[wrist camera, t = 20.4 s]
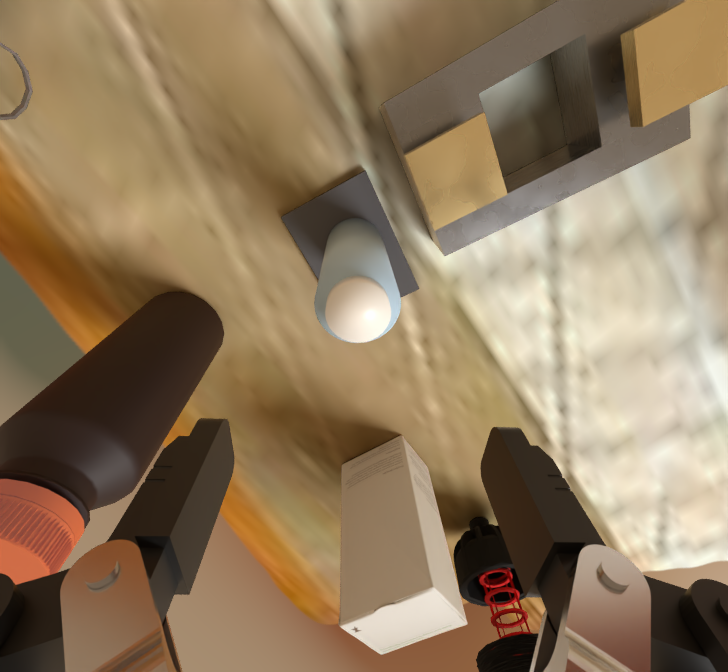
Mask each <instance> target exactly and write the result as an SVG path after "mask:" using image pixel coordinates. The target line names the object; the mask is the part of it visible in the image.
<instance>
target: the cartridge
mask: <svg viewBox="0 0 728 672" xmlns="http://www.w3.org/2000/svg"><path fill="white" fill-rule="evenodd" d="M314 304H315V312H316V315H317V318H318V320H319V322H320V324H321V325H322V326H323V328H324V329H325V330H326V331H327V332H328V333H330V334H331V335H332V336H334V337H336V338H338V339H340V340H343V341H346V342H352V343H363V342H369V341H372V340H375V339H377V338H379V337H381V336H382V335H384V334H385V333H387V332H388V331H389V330H390V329H391V328H392V327H393V325H394V324H395V322H396V320H397V318H398V316H399V313H400V308H401V298H400V293H399V290H398V287H397V283H396V280H395V277H394V274H393V271H392V268H391V264H390V261H389V258H388V255H387V252H386V249H385V245H384V242H383V239H382V236H381V234H380V232H379V230H378V229H377V228H376V227H375V226H374V225H373V224H372V223H370V222H369V221H367V220H364V219H360V218H350V219H346V220H343V221H341V222H340V223H338V224H337V225H336V226H335V227H334V228H333V229H332V230H331V232H330V234H329V236H328V240H327V244H326V249H325V253H324V258H323V263H322V267H321V272H320V277H319V281H318V286H317V290H316V295H315V302H314Z"/></svg>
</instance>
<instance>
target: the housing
mask: <svg viewBox="0 0 728 672" xmlns="http://www.w3.org/2000/svg"><path fill="white" fill-rule="evenodd" d="M681 1H683V0H558V1H556V2H555V3H553V4H551V5H550V6H548V7H546V8H545V9H543V10H541V11H539V12H538V13H536V14H534V15H533V16H531V17H529V18H528V19H526V20H524V21H522V22H521V23H519V24H517V25H516V26H514V27H512V28H511V29H509V30H507V31H505V32H504V33H502V34H500V35H499V36H497V37H495V38H494V39H492V40H490V41H488V42H487V43H485V44H483V45H482V46H480V47H478V48H476V49H475V50H473V51H471V52H470V53H468V54H466V55H465V56H463V57H461V58H459V59H458V60H456V61H454V62H453V63H451V64H449V65H448V66H446V67H444V68H442V69H441V70H439V71H437V72H436V73H434V74H432V75H431V76H429V77H427V78H425V79H424V80H422V81H420V82H419V83H417V84H415V85H414V86H412V87H410V88H408V89H407V90H405V91H403V92H402V93H400V94H398V95H396V96H395V97H393V98H391V99H390V100H388V101H386V102H385V103H383V104H382V105H381V106H380V107H379V110H380V112H381V115H382V117H383V119H384V122H385V124H386V127H387V129H388V132H389V134H390V137H391V139H392V142H393V144H394V147H395V149H396V151H397V154H398V156H399V159H400V161H401V164H402V166H403V169H404V171H405V174H406V176H407V179H408V181H409V183H410V186H411V188H412V191H413V193H414V196H415V198H416V201H417V203H418V206H419V208H420V211H421V213H422V215H423V218H424V220H425V223H426V225H427V228H428V230H429V233H430V235H431V238H432V240H433V242H434V243H435V244H436V246H437V247H438V248H439V250H440V251H441V252H442V253H443V255H444V256H446V255H448V254H451V253H453V252H455V251H457V250H459V249H461V248H463V247H465V246H467V245H469V244H471V243H473V242H476V241H478V240H480V239H482V238H484V237H486V236H488V235H490V234H492V233H494V232H496V231H498V230H500V229H503V228H505V227H507V226H509V225H511V224H513V223H515V222H517V221H519V220H521V219H523V218H525V217H528V216H530V215H532V214H534V213H536V212H538V211H540V210H542V209H544V208H546V207H548V206H550V205H552V204H555V203H557V202H559V201H561V200H563V199H565V198H567V197H569V196H571V195H573V194H575V193H577V192H580V191H582V190H584V189H586V188H588V187H590V186H592V185H594V184H596V183H598V182H600V181H602V180H605V179H607V178H609V177H611V176H613V175H615V174H617V173H619V172H621V171H623V170H625V169H627V168H629V167H632V166H634V165H636V164H638V163H640V162H642V161H644V160H646V159H648V158H650V157H652V156H654V155H657V154H659V153H661V152H663V151H665V150H667V149H669V148H671V147H673V146H675V145H677V144H679V143H681V142H684V141H686V140H688V139H690V112H689V104H688V105H686V106H684V107H682V108H680V109H678V110H676V111H674V112H672V113H670V114H668V115H666V116H664V117H662V118H660V119H658V120H656V121H654V122H652V123H650V124H648V125H646V126H644V127H630V118H629V109H628V100H627V91H626V85H625V76H624V67H623V58H622V46H621V37H620V35H621V34H623V33H625V32H626V31H628V30H630V29H632V28H634V27H636V26H637V25H639V24H641V23H643V22H645V21H646V20H648V19H650V18H652V17H654V16H656V15H657V14H659V13H661V12H663V11H665V10H666V9H668V8H670V7H672V6H674V5H675V4H677V3H679V2H681ZM548 54H550V57H551V62H552V68H553V73H554V78H555V83H556V89H557V94H558V99H559V104H560V109H561V115H562V120H563V125H564V130H565V136H566V141H567V145H566V146H564V147H562V148H560V149H558V150H556V151H555V152H553V153H551V154H549V155H547V156H545V157H543V158H541V159H539V160H537V161H535V162H533V163H531V164H529V165H527V166H525V167H523V168H521V169H519V170H517V171H515V172H513V173H511V174H509V175H507V176H505V177H503V180H504V183H505V187H506V190H507V194H508V195H506V196H504V197H502V198H500V199H498V200H496V201H494V202H492V203H490V204H488V205H486V206H484V207H482V208H479V209H477V210H475V211H473V212H471V213H469V214H467V215H465V216H463V217H461V218H459V219H457V220H455V221H453V222H451V223H449V224H447V225H445V226H443V227H441V228H439V229H437V230H434V229H433V228H432V227H431V224H430V222H429V219H428V217H427V214H426V212H425V209H424V207H423V204H422V202H421V199H420V197H419V194H418V192H417V189H416V187H415V184H414V182H413V179H412V177H411V174H410V172H409V169H408V167H407V164H406V162H405V159H404V157H403V154H405V153H407V152H409V151H411V150H412V149H414V148H416V147H418V146H420V145H421V144H423V143H425V142H427V141H429V140H431V139H432V138H434V137H436V136H438V135H440V134H441V133H443V132H445V131H447V130H449V129H450V128H452V127H454V126H456V125H458V124H460V123H461V122H463V121H465V120H467V119H469V118H470V117H472V116H474V115H476V114H478V113H482V112H483V108H482V105H481V101H480V98H479V93H480V92H482V91H484V90H486V89H488V88H489V87H491V86H493V85H495V84H496V83H498V82H500V81H502V80H504V79H505V78H507V77H509V76H511V75H513V74H514V73H516V72H518V71H520V70H521V69H523V68H525V67H527V66H529V65H530V64H532V63H534V62H536V61H537V60H539V59H541V58H543V57H545V56H546V55H548Z"/></svg>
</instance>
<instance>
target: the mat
mask: <svg viewBox="0 0 728 672" xmlns="http://www.w3.org/2000/svg"><path fill="white" fill-rule="evenodd" d="M281 218H282V220H283V222H284V223H285V225H286V227H287V228H288V230H289V232H290V233H291V235H292V237H293V238H294V240H295V242H296V243H297V245H298V247H299V248H300V250H301V252H302V253H303V255H304V257H305V258H306V260H307V262H308V263H309V265H310V267H311V268H312V270H313V272H314V273H315V275H316V277H317V278H318V280H319V277H320V272H321V267H322V263H323V258H324V253H325V249H326V244H327V240H328V236H329V234H330V232H331V230H332V229H333V228H334V227H335V226H336V225H337V224H338V223H340V222H341V221H343V220H346V219H350V218H360V219H364V220H367V221H369V222H370V223H372V224H373V225H374V226H375V227H376V228H377V229H378V230H379V232H380V234H381V236H382V239H383V242H384V245H385V249H386V252H387V255H388V258H389V261H390V264H391V268H392V271H393V274H394V277H395V280H396V283H397V287H398V290H399V293H400V298H401V297H403V296H405V295H407V294H409V293H412V292H414V291H416V290H418V289H419V287H418V285H417V283H416V281H415V278H414V276H413V274H412V272H411V270H410V267H409V265H408V263H407V261H406V259H405V256H404V254H403V252H402V250H401V248H400V245H399V243H398V241H397V239H396V237H395V234H394V232H393V230H392V228H391V226H390V224H389V221H388V219H387V217H386V215H385V213H384V210H383V208H382V206H381V204H380V202H379V199H378V197H377V195H376V193H375V191H374V188H373V186H372V184H371V182H370V180H369V178H368V175H367V173H366V171H363V172H361V173H359V174H358V175H356V176H354V177H352V178H350V179H349V180H347V181H345V182H343V183H341V184H340V185H338V186H336V187H334V188H332V189H331V190H329V191H327V192H325V193H323V194H322V195H320V196H318V197H316V198H314V199H312V200H311V201H309V202H307V203H305V204H303V205H302V206H300V207H298V208H296V209H294V210H293V211H291V212H289V213H287V214H285V215H284V216H282V217H281Z"/></svg>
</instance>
